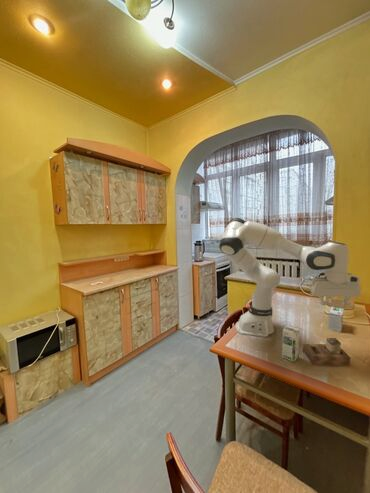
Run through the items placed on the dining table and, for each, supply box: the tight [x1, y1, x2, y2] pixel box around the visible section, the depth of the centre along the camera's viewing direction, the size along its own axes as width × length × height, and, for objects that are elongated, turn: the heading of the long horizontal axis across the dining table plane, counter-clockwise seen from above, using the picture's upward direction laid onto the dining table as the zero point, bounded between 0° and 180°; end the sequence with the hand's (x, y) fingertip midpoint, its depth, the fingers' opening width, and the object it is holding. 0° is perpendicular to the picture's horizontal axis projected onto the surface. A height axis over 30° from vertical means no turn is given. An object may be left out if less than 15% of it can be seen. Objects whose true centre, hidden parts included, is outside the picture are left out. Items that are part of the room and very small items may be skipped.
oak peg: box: [325, 337, 342, 354], centre depth 104 cm, size 4×4×9 cm
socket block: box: [302, 343, 351, 366], centre depth 104 cm, size 16×10×4 cm, turn 84°
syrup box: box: [281, 325, 300, 363], centre depth 105 cm, size 6×6×14 cm
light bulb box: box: [327, 306, 345, 333], centre depth 131 cm, size 11×7×11 cm, turn 141°
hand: (334, 305), depth 103 cm, fingers open, 8 cm apart
